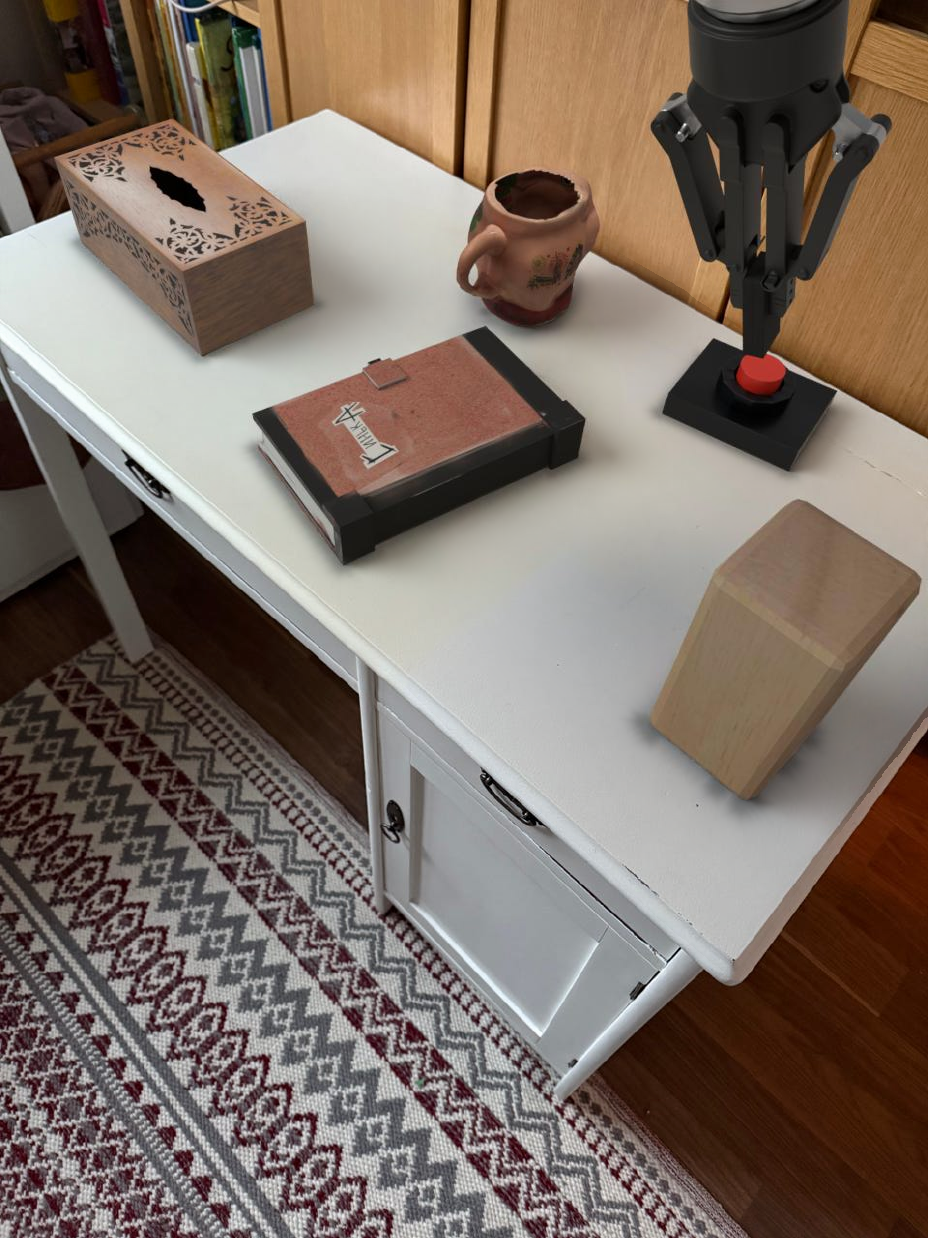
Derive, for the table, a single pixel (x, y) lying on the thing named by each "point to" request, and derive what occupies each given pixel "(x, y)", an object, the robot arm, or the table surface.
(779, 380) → the button
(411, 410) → the book
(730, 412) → the control block
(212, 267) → the tissue box cover
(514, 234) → the terracotta mug
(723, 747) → the wooden block
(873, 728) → the table surface
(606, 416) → the table surface
